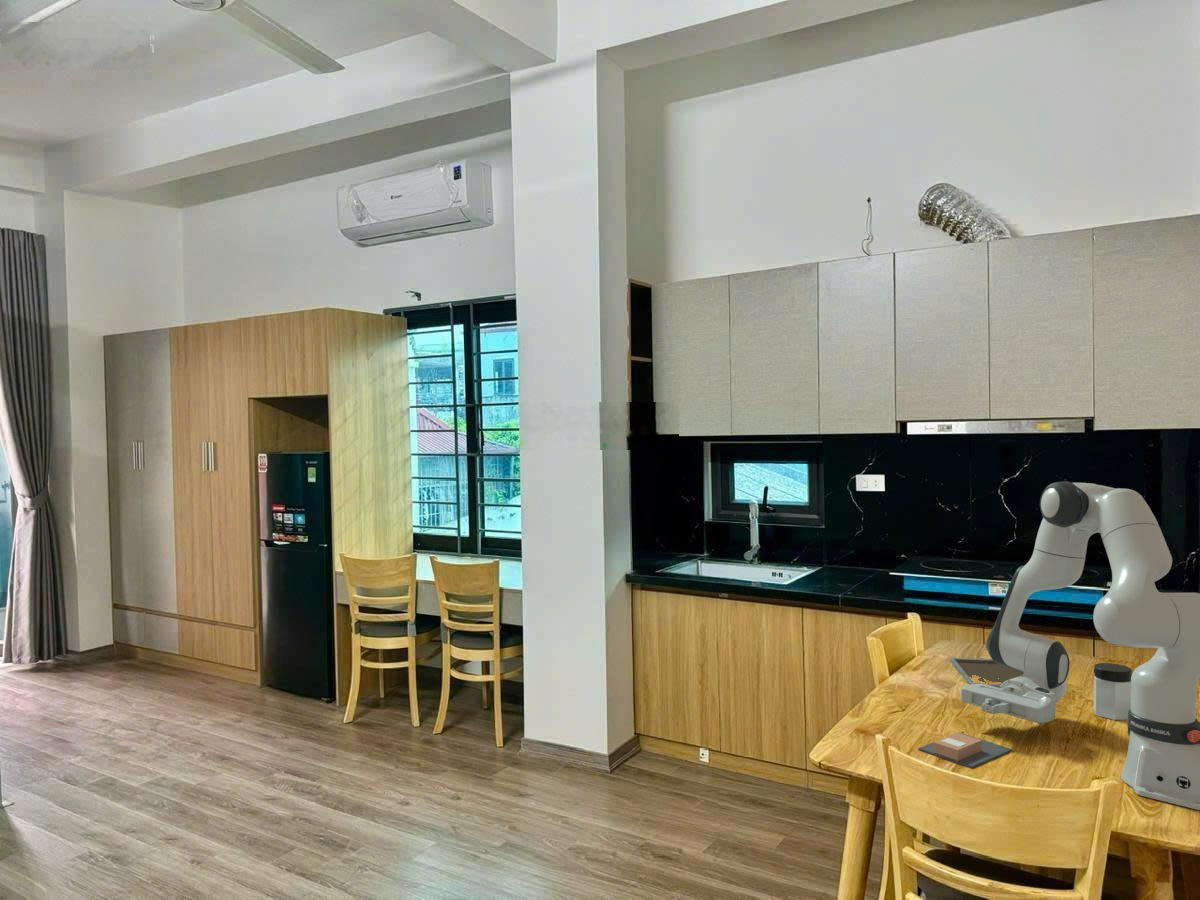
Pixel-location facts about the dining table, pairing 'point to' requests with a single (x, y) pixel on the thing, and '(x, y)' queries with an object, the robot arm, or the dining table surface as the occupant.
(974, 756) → the mat
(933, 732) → the dining table surface
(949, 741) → the block
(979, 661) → the grey picture frame
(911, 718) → the dining table surface
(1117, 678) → the jar
